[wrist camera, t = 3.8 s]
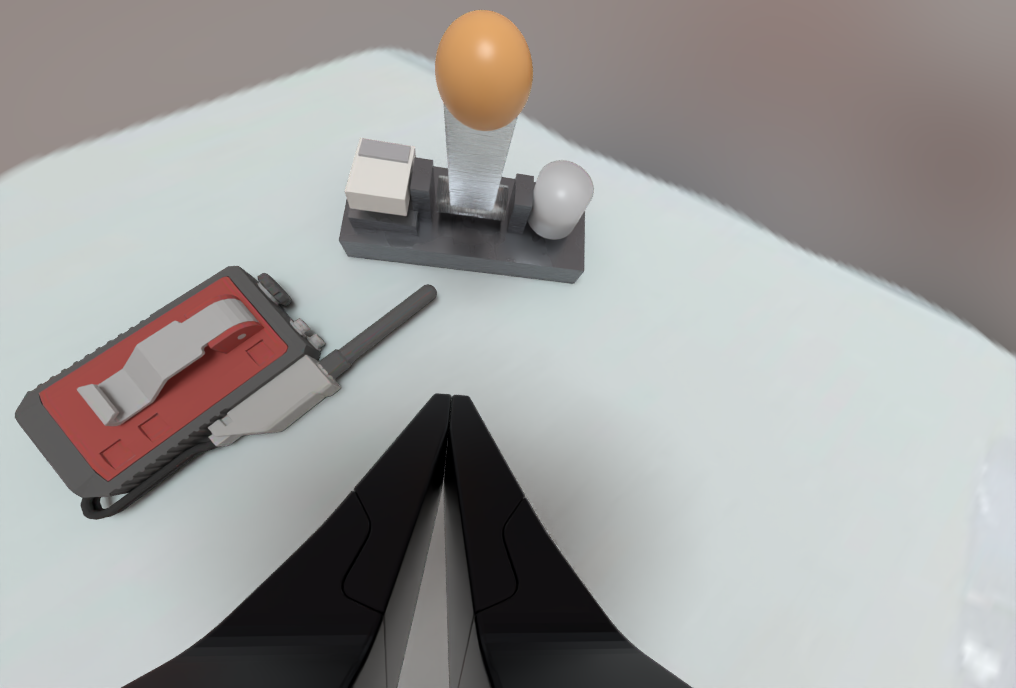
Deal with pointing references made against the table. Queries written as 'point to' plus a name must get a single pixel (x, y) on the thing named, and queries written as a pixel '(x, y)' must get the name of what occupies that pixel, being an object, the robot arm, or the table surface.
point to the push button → (559, 199)
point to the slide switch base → (464, 234)
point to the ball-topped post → (480, 109)
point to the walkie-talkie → (187, 386)
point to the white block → (381, 177)
